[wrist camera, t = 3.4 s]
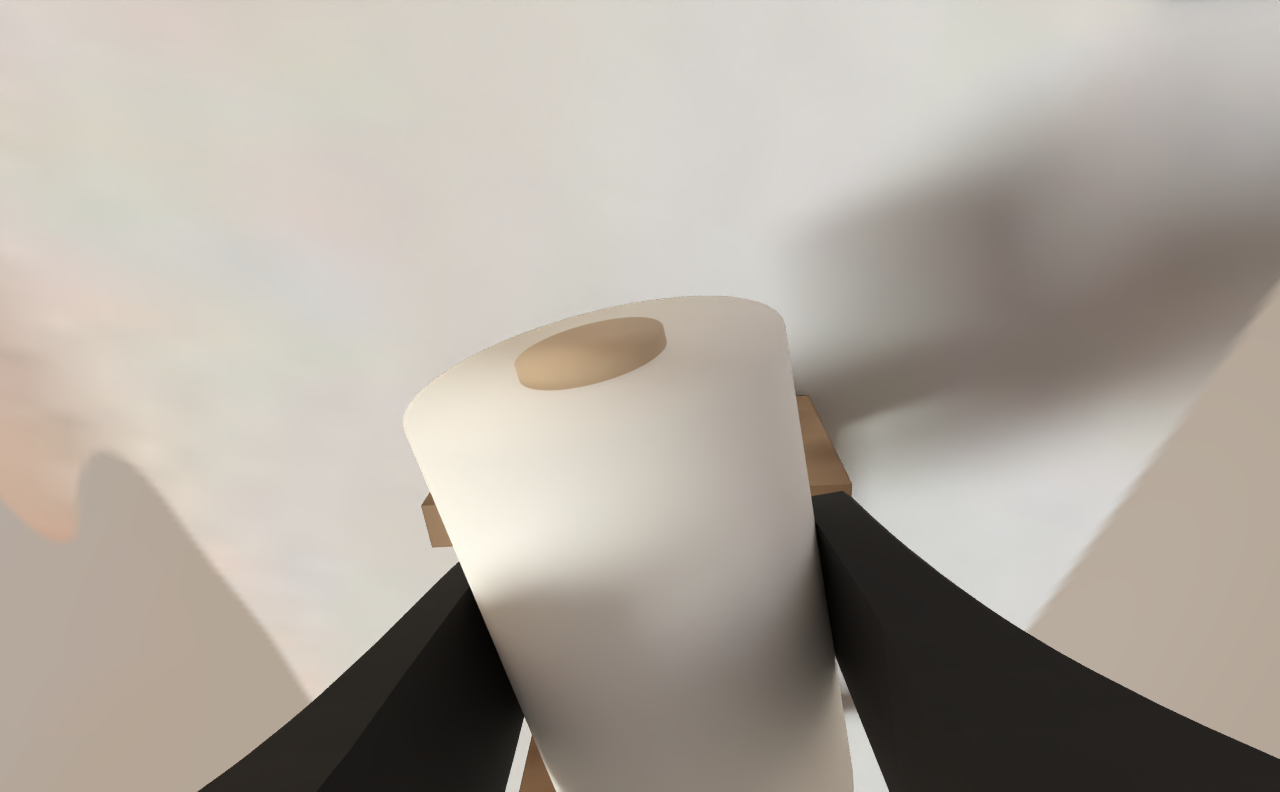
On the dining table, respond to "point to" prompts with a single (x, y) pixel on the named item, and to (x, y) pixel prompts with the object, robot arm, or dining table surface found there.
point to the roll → (645, 546)
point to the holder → (823, 479)
